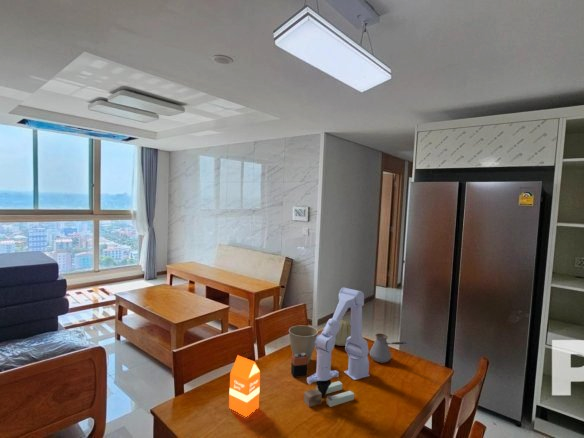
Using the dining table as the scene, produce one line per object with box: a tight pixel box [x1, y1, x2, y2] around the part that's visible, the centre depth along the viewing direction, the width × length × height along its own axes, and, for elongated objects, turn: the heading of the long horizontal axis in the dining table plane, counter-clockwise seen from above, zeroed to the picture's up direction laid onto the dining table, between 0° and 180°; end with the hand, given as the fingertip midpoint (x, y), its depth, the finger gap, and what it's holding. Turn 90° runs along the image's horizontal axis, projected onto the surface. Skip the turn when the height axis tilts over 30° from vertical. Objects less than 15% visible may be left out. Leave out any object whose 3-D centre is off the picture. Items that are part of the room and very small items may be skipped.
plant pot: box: [288, 324, 319, 364], centre depth 162 cm, size 15×15×16 cm
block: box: [303, 387, 323, 408], centre depth 128 cm, size 6×4×4 cm, turn 119°
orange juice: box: [228, 354, 261, 418], centre depth 122 cm, size 8×9×20 cm
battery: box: [290, 353, 309, 378], centre depth 149 cm, size 4×7×10 cm, turn 108°
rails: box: [315, 380, 355, 408], centre depth 133 cm, size 12×10×3 cm
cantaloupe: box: [334, 318, 351, 347], centre depth 184 cm, size 15×15×15 cm
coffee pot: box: [368, 333, 409, 364], centre depth 164 cm, size 21×12×15 cm, turn 34°
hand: (322, 396), depth 130 cm, fingers closed
